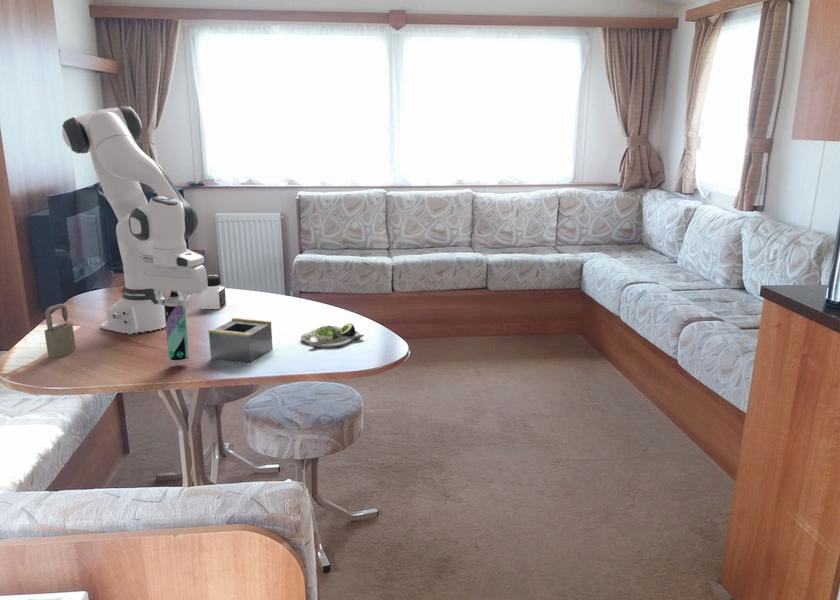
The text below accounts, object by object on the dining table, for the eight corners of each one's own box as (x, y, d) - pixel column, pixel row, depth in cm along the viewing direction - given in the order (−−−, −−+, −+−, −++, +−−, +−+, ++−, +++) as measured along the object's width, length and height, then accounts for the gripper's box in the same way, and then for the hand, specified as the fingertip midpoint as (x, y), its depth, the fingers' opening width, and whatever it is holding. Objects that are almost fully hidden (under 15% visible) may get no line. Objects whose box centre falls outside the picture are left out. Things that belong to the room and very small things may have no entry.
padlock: (78, 349, 203) (71, 302, 199) (57, 358, 196) (49, 309, 192) (67, 348, 204) (60, 301, 200) (46, 357, 197) (38, 308, 193)
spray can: (171, 356, 192) (166, 288, 187) (190, 355, 192) (186, 288, 187) (166, 362, 187) (160, 293, 181) (186, 362, 187) (181, 293, 182)
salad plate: (330, 355, 200) (330, 341, 198) (287, 344, 209) (286, 330, 208) (369, 338, 215) (369, 324, 214) (327, 329, 225) (327, 315, 223)
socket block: (210, 359, 195) (208, 330, 193) (235, 345, 208) (233, 317, 205) (250, 364, 192) (248, 334, 189) (273, 349, 204) (271, 321, 202)
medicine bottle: (220, 310, 245) (218, 278, 242) (201, 309, 245) (198, 278, 242) (226, 304, 252) (223, 273, 249) (207, 304, 252) (204, 273, 249)
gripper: (129, 256, 181) (134, 305, 184) (195, 261, 176) (199, 312, 179) (144, 251, 187) (148, 299, 190) (209, 257, 182) (212, 306, 185)
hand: (173, 305), depth 185 cm, fingers closed on spray can, 5 cm apart
